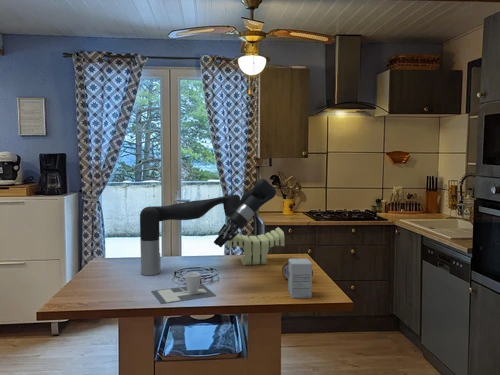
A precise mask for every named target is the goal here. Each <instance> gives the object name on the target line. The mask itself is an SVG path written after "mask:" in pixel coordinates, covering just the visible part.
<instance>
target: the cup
mask: <svg viewBox="0 0 500 375" xmlns="http://www.w3.org/2000/svg"><path fill="white" fill-rule="evenodd" d="M201 277H202V274H201V273H200V272H196V271H195V272H194V271H192V272H187V273H185V274H184V275H183V276H181V277H179V279H178V282H177V287H179V288H180V289H181V290H182V291H184V292H186V293H189V294H197V293H198V291H197V290H198V289H199V285H200V284H201ZM181 279H185V284H186V286H187V289H188V292H187V291H185V290H183V289H182V288H181V287H182V286H180V281H181Z"/></svg>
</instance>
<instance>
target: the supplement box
mask: <svg viewBox="0 0 500 375" xmlns="http://www.w3.org/2000/svg"><path fill="white" fill-rule="evenodd" d="M288 262H289V267H288V279H287V280H288V281H287V283H288V284H287V286H288V288H287V290H288V295H289V296H290V298H291V299H307V298H308V299H312V295H313V291H312V290H313V276H312V270H313V263H312V262H311V260H309V258H288Z"/></svg>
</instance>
